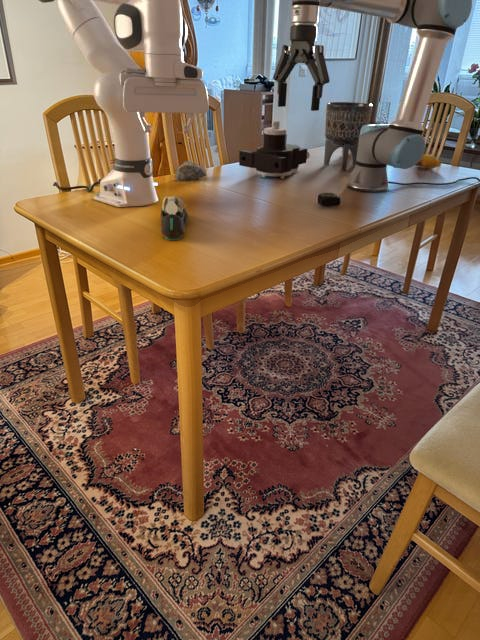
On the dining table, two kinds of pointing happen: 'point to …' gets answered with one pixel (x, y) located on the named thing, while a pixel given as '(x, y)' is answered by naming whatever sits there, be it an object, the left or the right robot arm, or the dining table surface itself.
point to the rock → (190, 172)
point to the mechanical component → (274, 154)
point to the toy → (428, 162)
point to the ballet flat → (173, 218)
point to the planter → (345, 128)
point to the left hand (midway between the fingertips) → (167, 132)
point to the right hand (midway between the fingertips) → (297, 108)
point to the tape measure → (328, 199)
